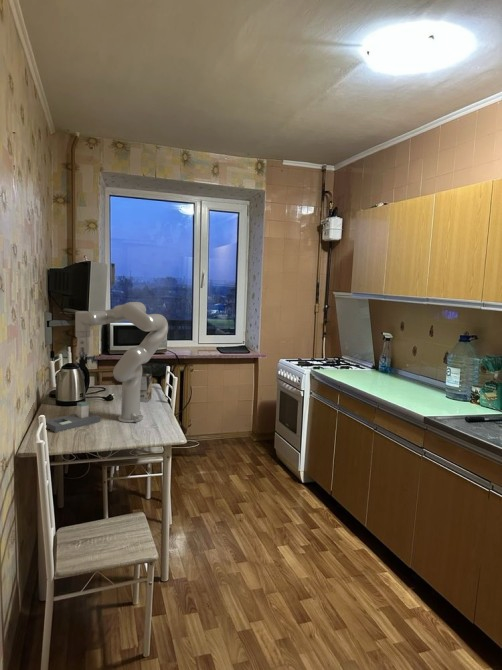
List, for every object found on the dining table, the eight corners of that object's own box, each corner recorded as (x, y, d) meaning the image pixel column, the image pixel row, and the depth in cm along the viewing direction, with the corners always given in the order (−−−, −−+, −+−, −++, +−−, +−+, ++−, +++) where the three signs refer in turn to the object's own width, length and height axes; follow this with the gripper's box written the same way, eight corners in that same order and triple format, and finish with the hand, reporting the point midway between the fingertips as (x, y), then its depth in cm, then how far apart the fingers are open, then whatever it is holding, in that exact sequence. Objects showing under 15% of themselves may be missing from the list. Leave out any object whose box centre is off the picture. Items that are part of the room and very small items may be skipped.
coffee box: (147, 402, 271) (148, 376, 269) (137, 401, 271) (138, 375, 269) (151, 398, 280) (152, 373, 278) (141, 397, 280) (142, 372, 278)
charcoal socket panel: (99, 421, 230) (99, 415, 229) (55, 432, 210) (55, 425, 210) (86, 416, 237) (86, 410, 236) (42, 426, 218) (42, 420, 217)
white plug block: (88, 421, 229) (88, 402, 228) (81, 423, 226) (81, 404, 224) (84, 420, 231) (84, 401, 230) (76, 421, 228) (77, 402, 227)
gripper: (88, 335, 232) (89, 368, 234) (91, 332, 249) (92, 362, 251) (73, 335, 230) (74, 368, 232) (77, 332, 247) (77, 362, 249)
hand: (83, 365), depth 241 cm, fingers open, 9 cm apart
